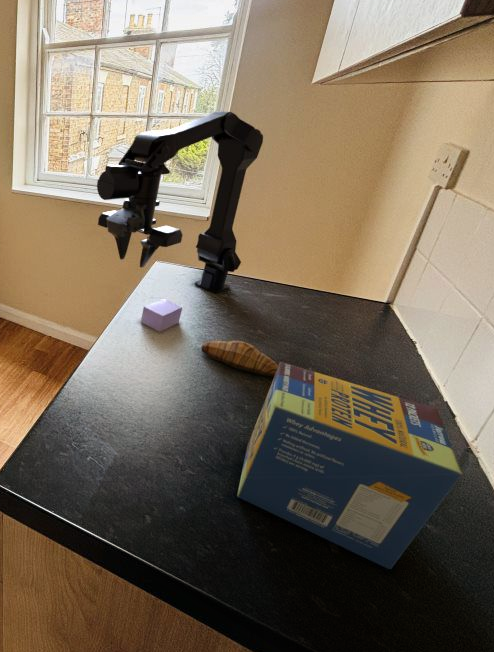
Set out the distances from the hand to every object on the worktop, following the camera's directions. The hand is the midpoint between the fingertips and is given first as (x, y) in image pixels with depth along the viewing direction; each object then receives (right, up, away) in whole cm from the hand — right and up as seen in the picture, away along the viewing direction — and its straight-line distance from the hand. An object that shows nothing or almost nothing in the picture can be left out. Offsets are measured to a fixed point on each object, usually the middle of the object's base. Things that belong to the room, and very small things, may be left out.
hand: (131, 263), depth 93 cm
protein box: (+9, -33, -42) cm, 54 cm away
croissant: (+15, -21, -16) cm, 30 cm away
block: (+6, -14, -2) cm, 15 cm away
